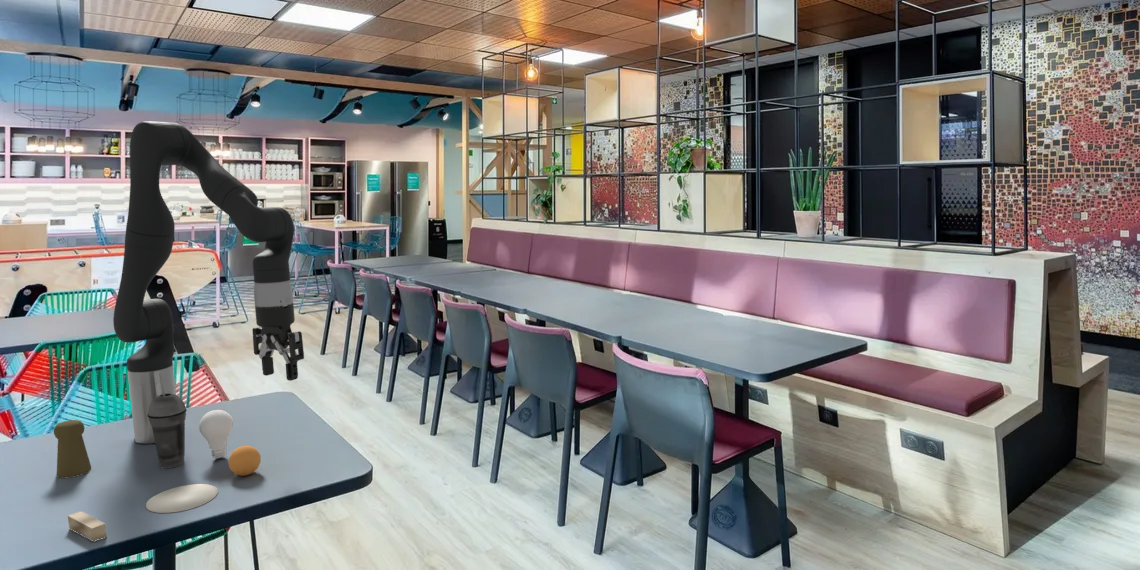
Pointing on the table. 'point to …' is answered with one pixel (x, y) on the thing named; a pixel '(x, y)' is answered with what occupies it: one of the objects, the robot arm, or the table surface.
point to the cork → (71, 449)
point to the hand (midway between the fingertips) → (280, 377)
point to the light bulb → (216, 431)
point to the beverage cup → (168, 428)
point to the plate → (181, 498)
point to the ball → (244, 460)
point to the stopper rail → (87, 525)
